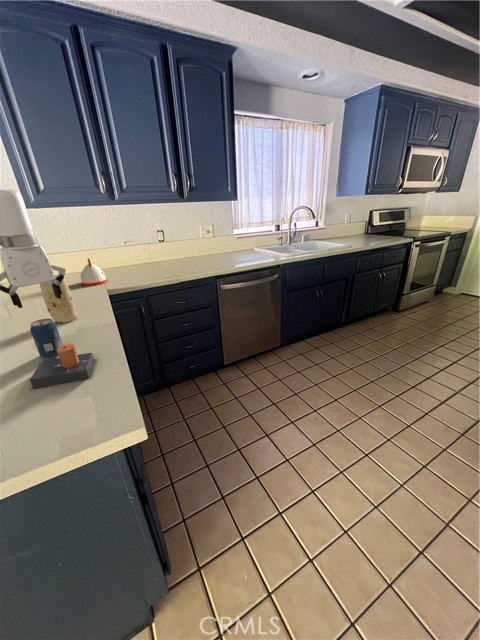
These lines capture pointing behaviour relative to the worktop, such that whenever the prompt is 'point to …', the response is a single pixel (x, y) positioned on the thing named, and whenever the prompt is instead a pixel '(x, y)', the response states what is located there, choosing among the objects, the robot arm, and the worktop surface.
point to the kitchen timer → (92, 275)
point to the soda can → (46, 337)
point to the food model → (59, 302)
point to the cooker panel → (61, 371)
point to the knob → (68, 355)
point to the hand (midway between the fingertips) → (40, 302)
